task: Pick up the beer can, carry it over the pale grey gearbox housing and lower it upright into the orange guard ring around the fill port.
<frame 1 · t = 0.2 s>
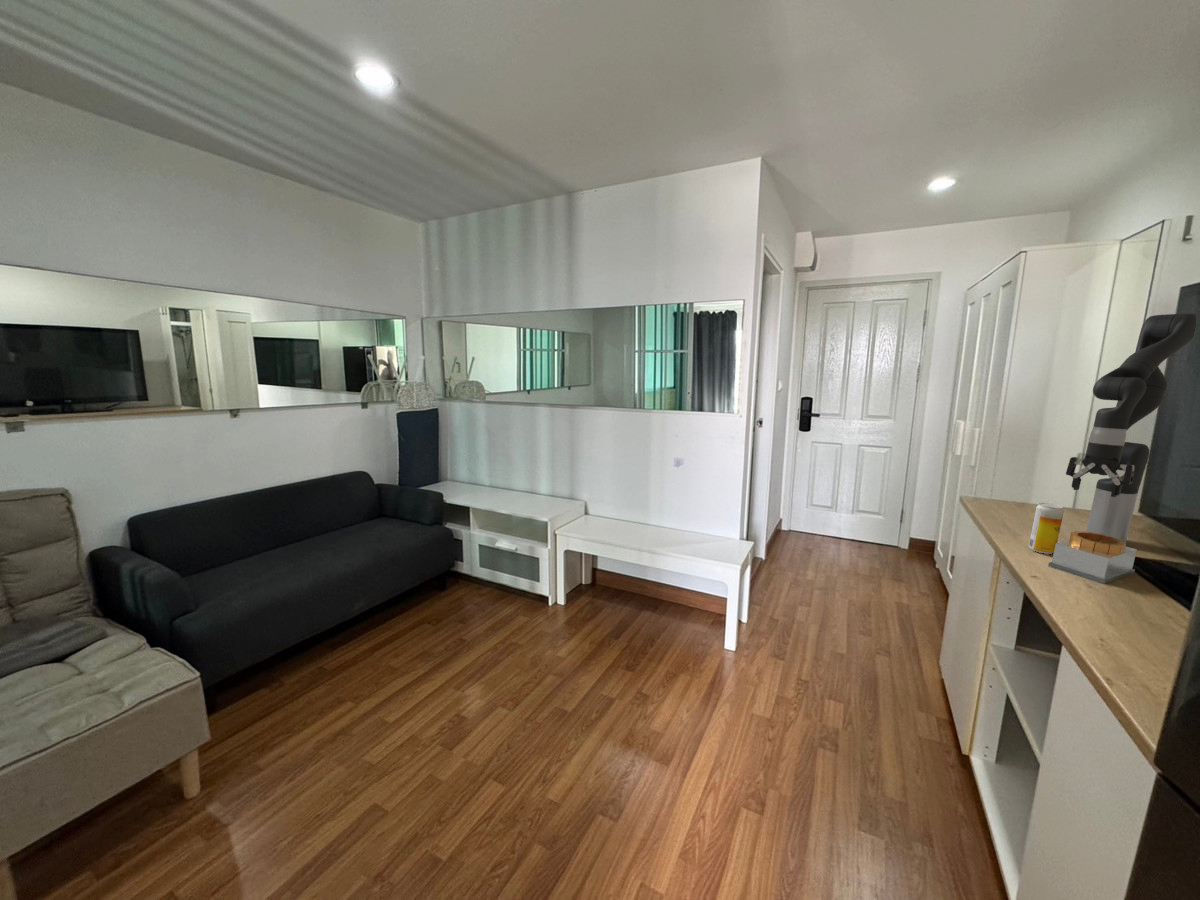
hand: (1094, 493, 145), 18 cm above the table, tool pointing down, fingers open, 8 cm apart
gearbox: (1090, 569, 132), on the table
beer can: (1041, 551, 144), on the table
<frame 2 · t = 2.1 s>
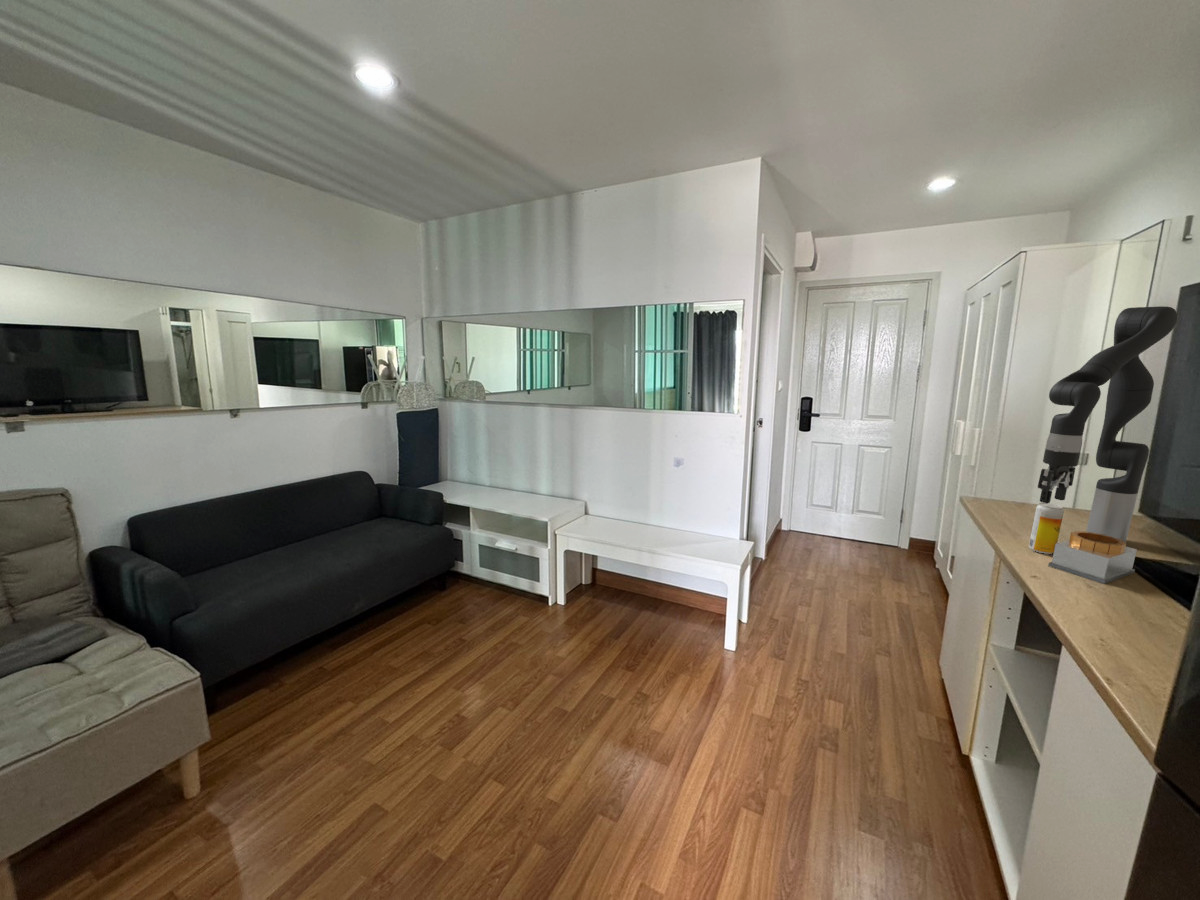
hand: (1051, 501, 141), 16 cm above the table, tool pointing down, fingers open, 8 cm apart
nothing on the table moved.
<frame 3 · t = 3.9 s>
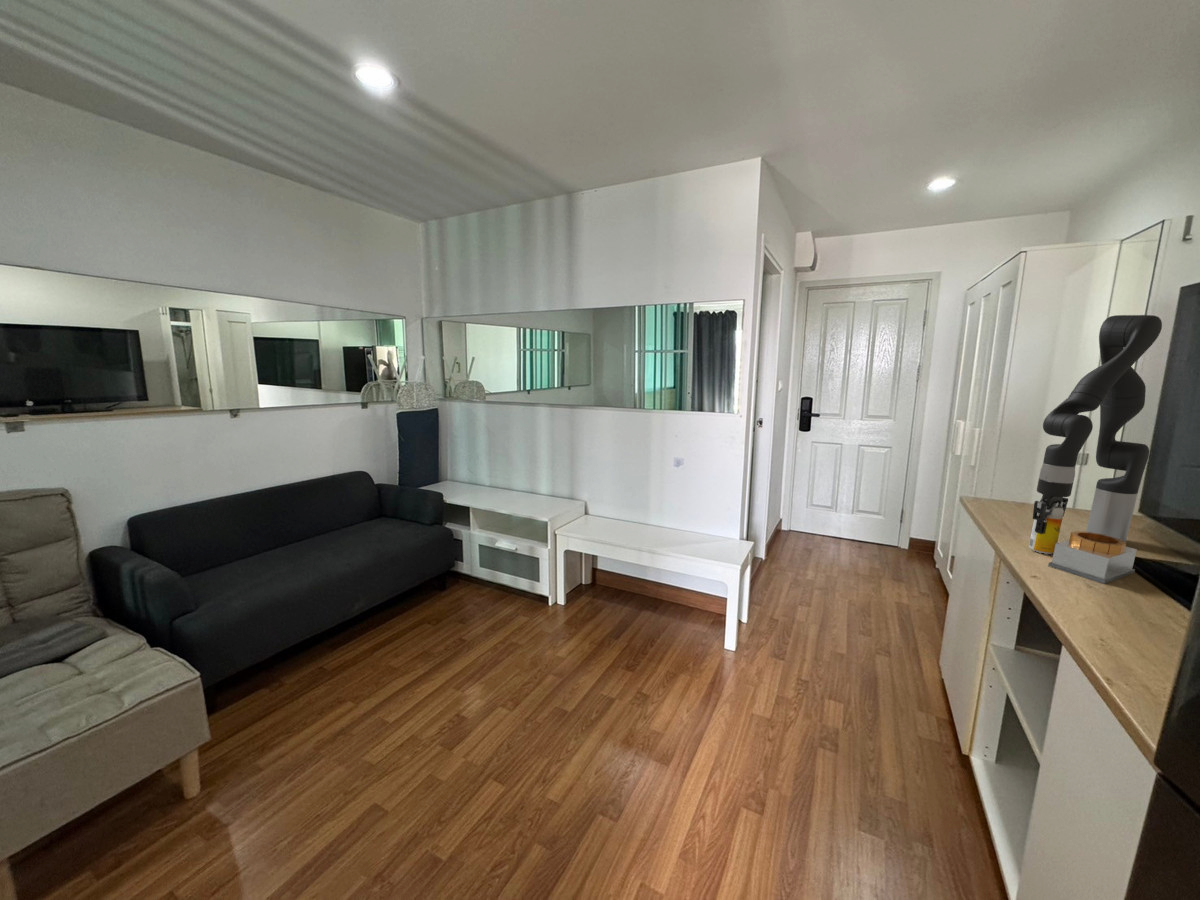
hand: (1045, 531, 143), 7 cm above the table, tool pointing down, fingers closed on beer can, 6 cm apart
beer can: (1041, 551, 144), on the table, touching gripper
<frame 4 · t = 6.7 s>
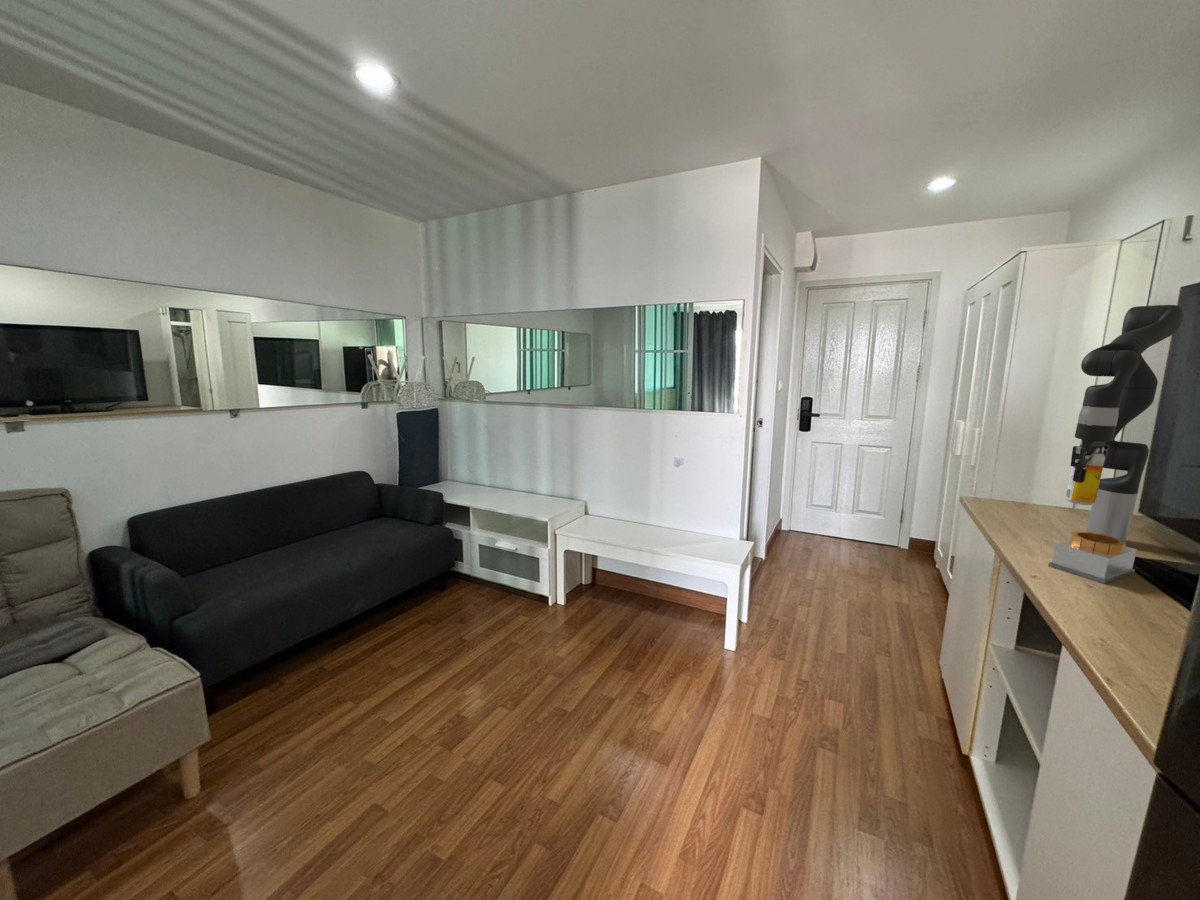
hand: (1084, 480, 133), 25 cm above the table, tool pointing down, fingers closed on beer can, 6 cm apart
beer can: (1079, 503, 134), point 18 cm above the table, touching gripper
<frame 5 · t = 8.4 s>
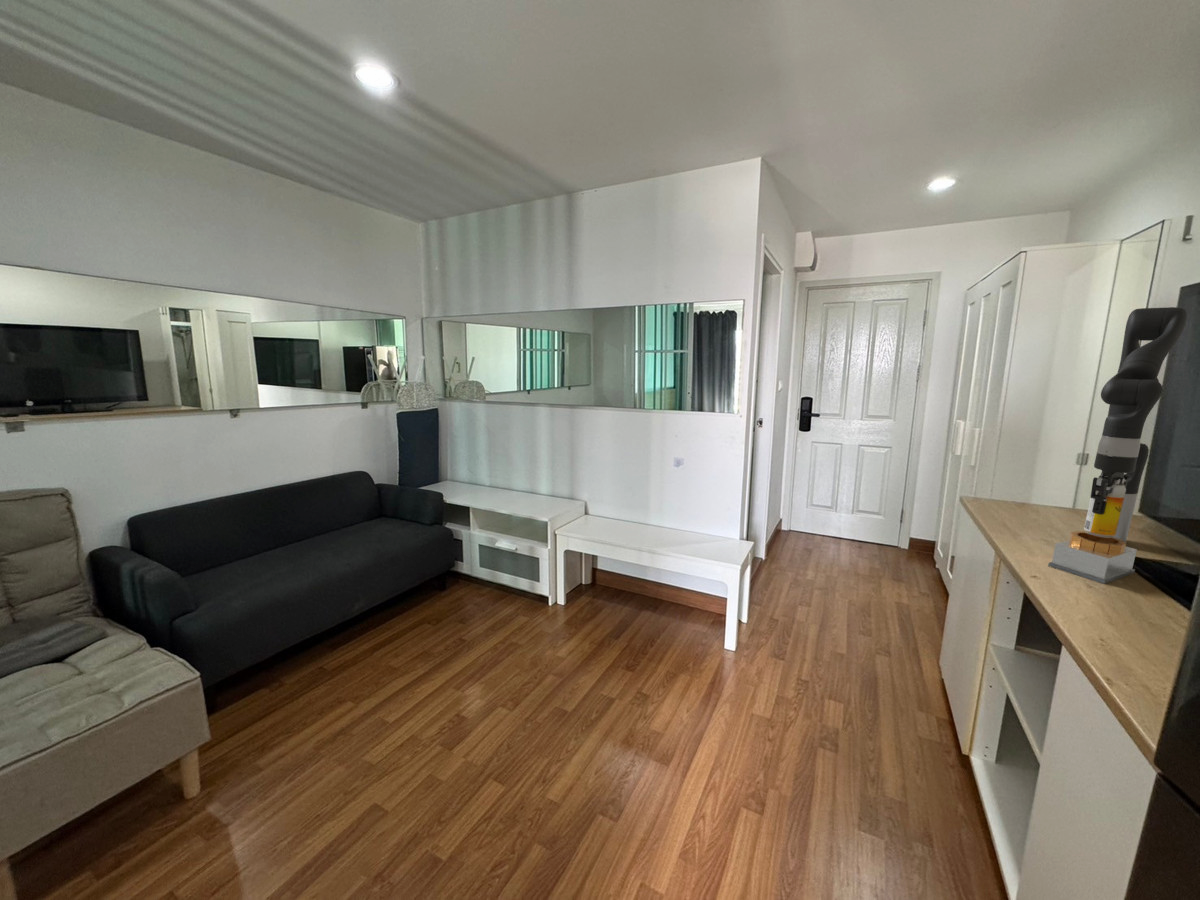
hand: (1103, 512, 129), 17 cm above the table, tool pointing down, fingers closed on beer can, 6 cm apart
beer can: (1098, 535, 130), point 10 cm above the table, touching gripper
when the fingers open (15 cm above the table, at t = 9.8 s): beer can drops 1 cm, resting on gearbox.
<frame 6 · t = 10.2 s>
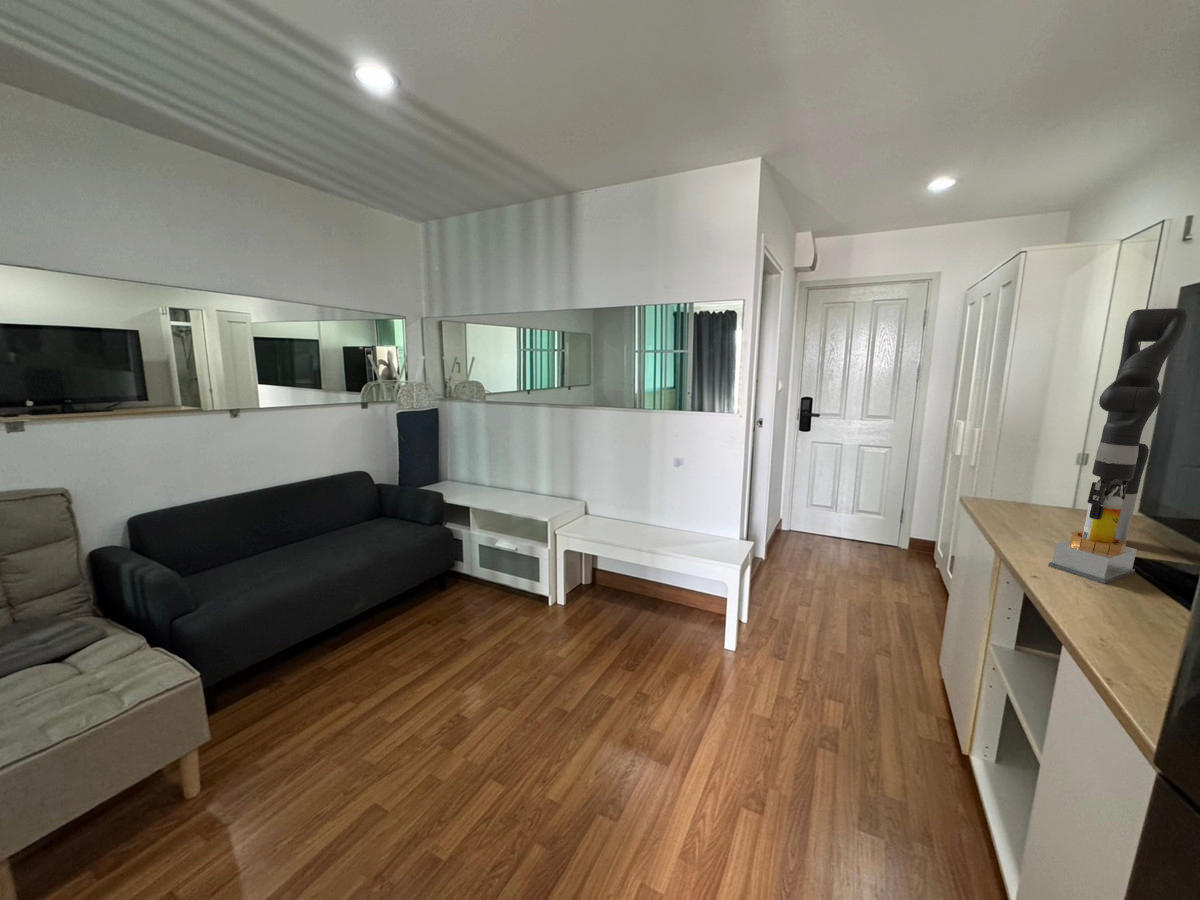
hand: (1102, 516, 129), 16 cm above the table, tool pointing down, fingers open, 8 cm apart
beer can: (1096, 546, 130), point 7 cm above the table, touching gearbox
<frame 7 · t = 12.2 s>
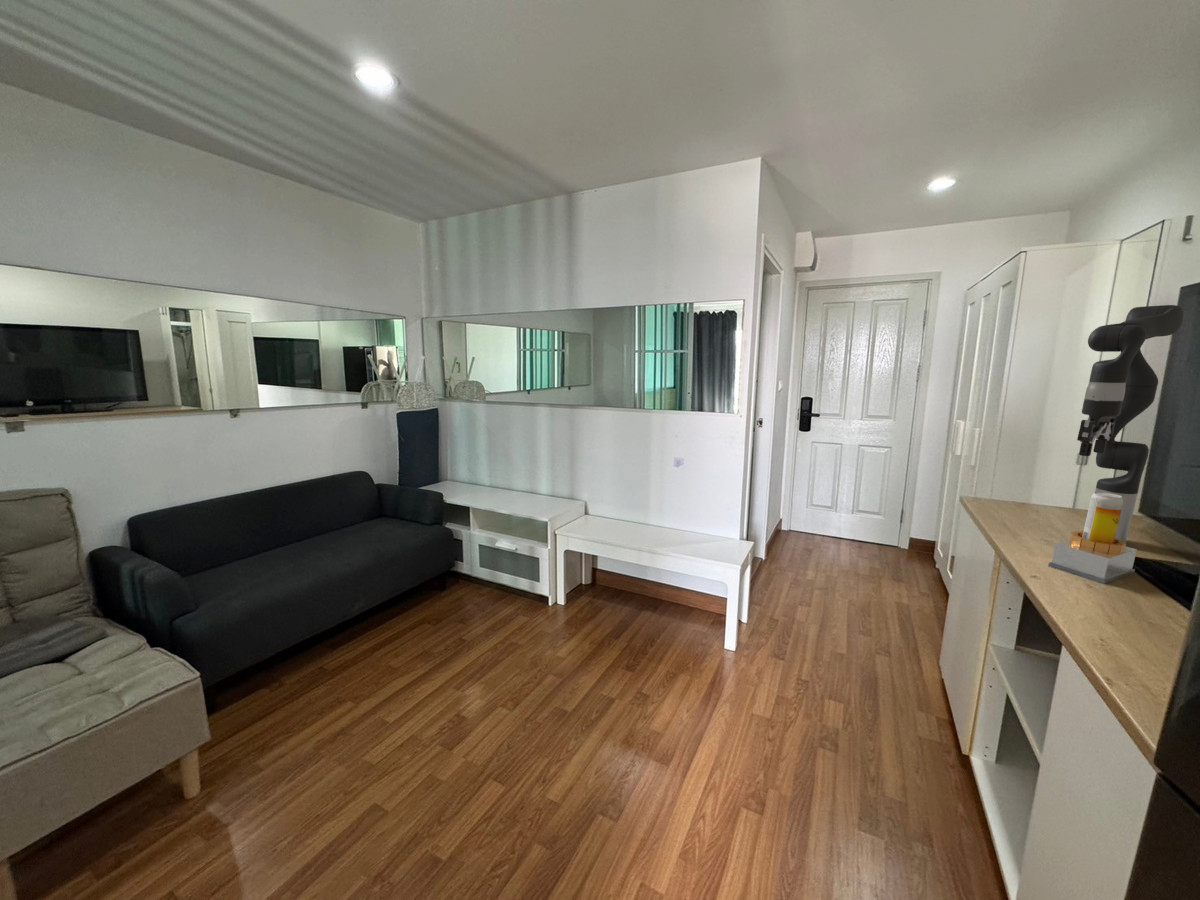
hand: (1091, 454, 134), 32 cm above the table, tool pointing down, fingers open, 8 cm apart
nothing on the table moved.
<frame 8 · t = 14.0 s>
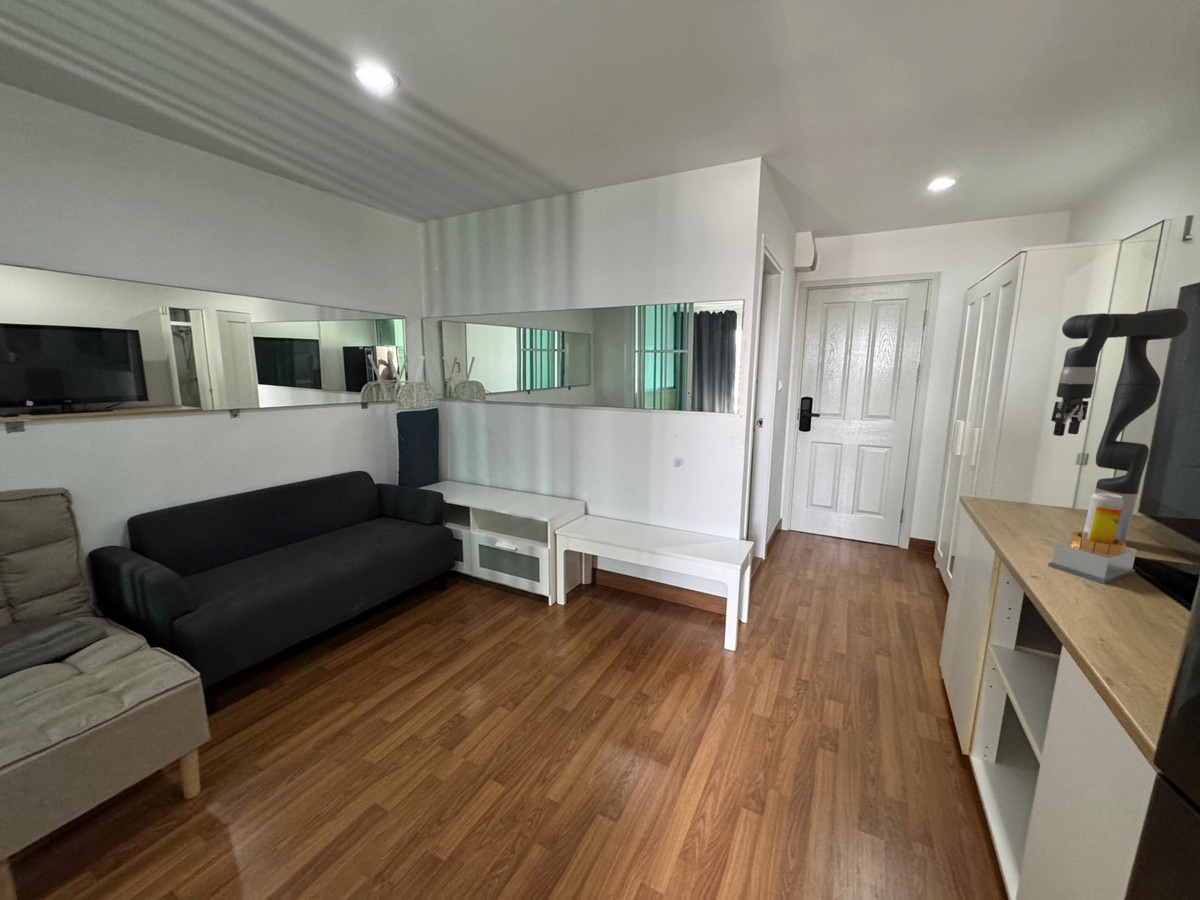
hand: (1065, 434, 143), 36 cm above the table, tool pointing down, fingers open, 8 cm apart
nothing on the table moved.
at the end: beer can 0.2 cm off-centre on the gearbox, point 7.0 cm above the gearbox's base; beer can tilted 0°; the gripper is holding nothing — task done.
